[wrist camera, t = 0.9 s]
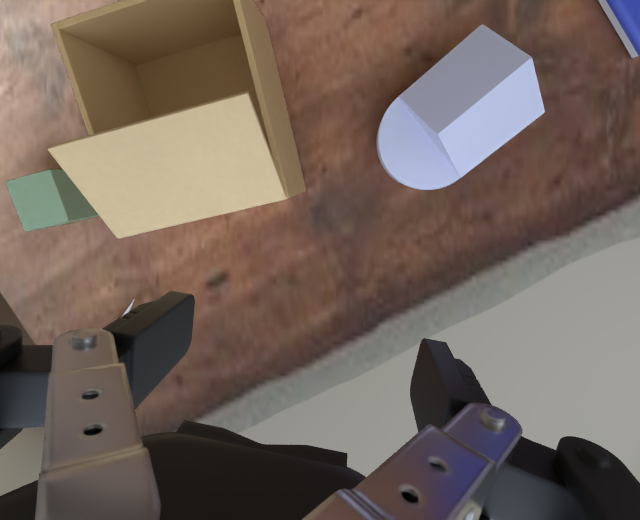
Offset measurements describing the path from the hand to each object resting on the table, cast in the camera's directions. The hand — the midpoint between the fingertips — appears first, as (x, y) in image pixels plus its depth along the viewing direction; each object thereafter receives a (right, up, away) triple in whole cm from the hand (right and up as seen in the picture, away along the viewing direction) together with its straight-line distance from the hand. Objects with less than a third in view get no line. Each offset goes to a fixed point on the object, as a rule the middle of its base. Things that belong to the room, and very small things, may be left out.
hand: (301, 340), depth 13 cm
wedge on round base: (+12, +16, +24) cm, 31 cm away
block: (-26, +10, +28) cm, 40 cm away
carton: (-9, +16, +25) cm, 31 cm away
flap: (-10, +9, +14) cm, 19 cm away
